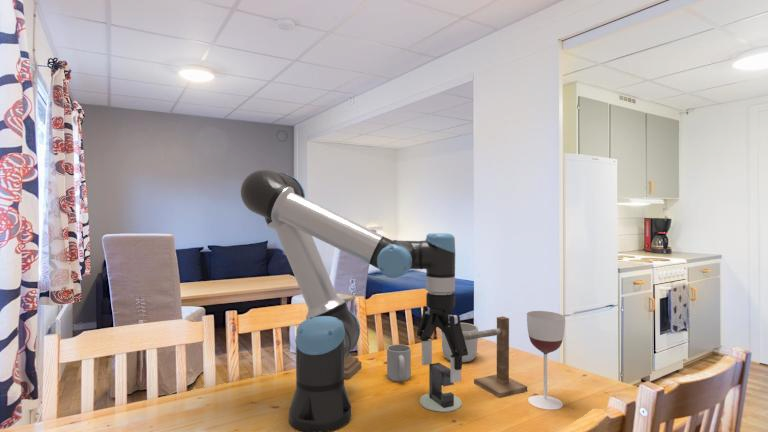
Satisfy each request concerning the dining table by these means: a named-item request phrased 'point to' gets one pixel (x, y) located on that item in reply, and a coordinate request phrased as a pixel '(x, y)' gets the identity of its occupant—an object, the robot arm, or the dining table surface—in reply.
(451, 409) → the coaster
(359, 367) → the candle holder
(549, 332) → the wineglass
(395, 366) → the cup
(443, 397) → the link
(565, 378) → the dining table surface
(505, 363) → the stand
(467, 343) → the planter
